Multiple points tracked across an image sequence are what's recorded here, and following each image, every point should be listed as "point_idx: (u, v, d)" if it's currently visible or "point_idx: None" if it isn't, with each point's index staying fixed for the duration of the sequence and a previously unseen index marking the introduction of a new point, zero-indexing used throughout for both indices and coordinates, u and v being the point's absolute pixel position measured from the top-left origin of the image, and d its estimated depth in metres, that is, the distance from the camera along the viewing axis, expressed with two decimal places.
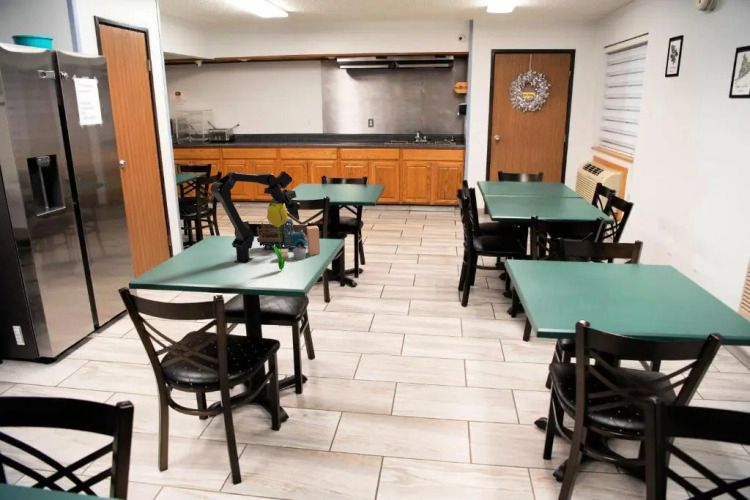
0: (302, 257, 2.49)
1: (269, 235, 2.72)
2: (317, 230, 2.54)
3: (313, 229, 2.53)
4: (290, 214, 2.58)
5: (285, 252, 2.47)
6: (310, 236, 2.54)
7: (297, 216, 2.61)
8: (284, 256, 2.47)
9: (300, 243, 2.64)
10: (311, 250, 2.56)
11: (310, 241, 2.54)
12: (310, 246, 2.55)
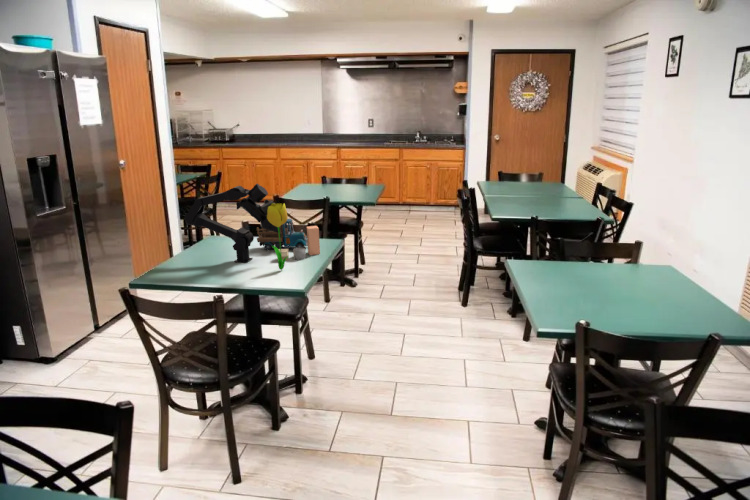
0: (302, 257, 2.49)
1: (269, 235, 2.72)
2: (317, 230, 2.54)
3: (313, 229, 2.53)
4: None
5: (285, 252, 2.47)
6: (310, 236, 2.54)
7: (275, 229, 2.43)
8: (284, 256, 2.47)
9: (300, 243, 2.64)
10: (311, 250, 2.56)
11: (310, 241, 2.54)
12: (310, 246, 2.55)
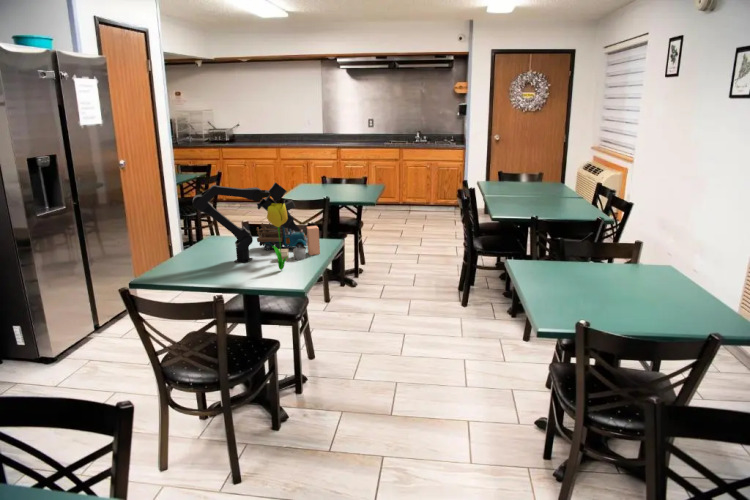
0: (302, 257, 2.49)
1: (269, 235, 2.72)
2: (317, 230, 2.54)
3: (313, 229, 2.53)
4: None
5: (285, 252, 2.47)
6: (310, 236, 2.54)
7: (295, 228, 2.47)
8: (284, 256, 2.47)
9: (300, 243, 2.64)
10: (311, 250, 2.56)
11: (310, 241, 2.54)
12: (310, 246, 2.55)
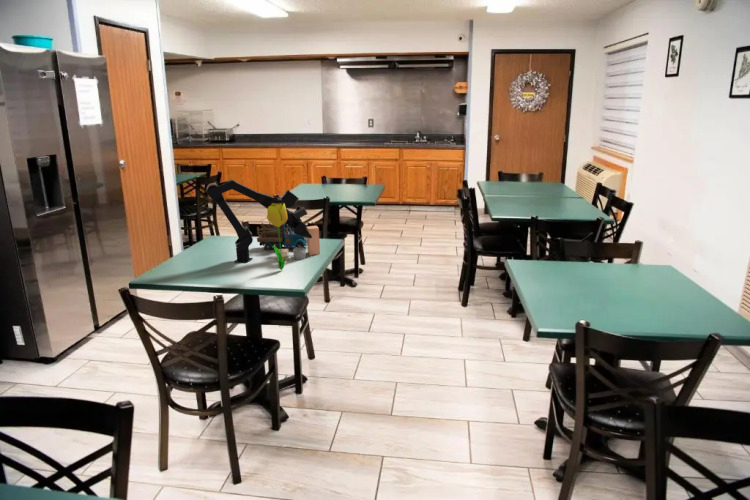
0: (302, 257, 2.49)
1: (269, 235, 2.72)
2: (317, 230, 2.54)
3: (313, 229, 2.53)
4: (298, 234, 2.48)
5: (285, 252, 2.47)
6: None
7: (307, 235, 2.50)
8: (284, 256, 2.47)
9: (300, 243, 2.64)
10: (311, 250, 2.56)
11: (310, 241, 2.54)
12: (310, 246, 2.55)
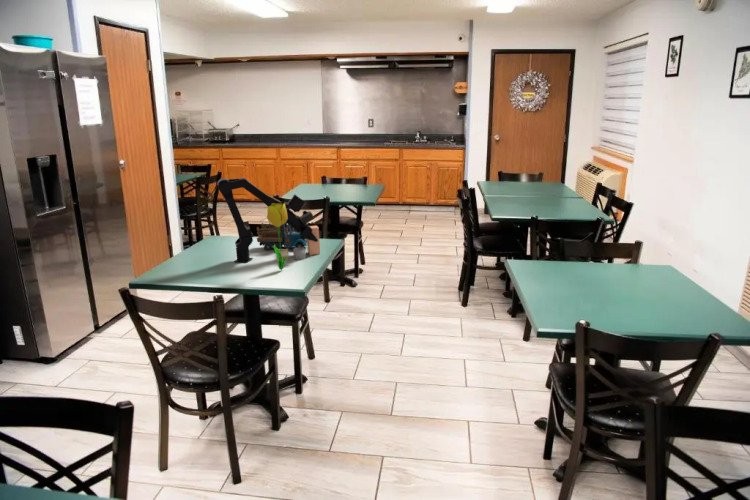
0: (302, 257, 2.49)
1: (269, 235, 2.72)
2: (317, 230, 2.54)
3: (313, 229, 2.53)
4: None
5: (285, 252, 2.47)
6: None
7: (313, 238, 2.53)
8: (284, 256, 2.47)
9: (300, 243, 2.64)
10: (311, 250, 2.56)
11: (310, 241, 2.54)
12: (310, 246, 2.55)
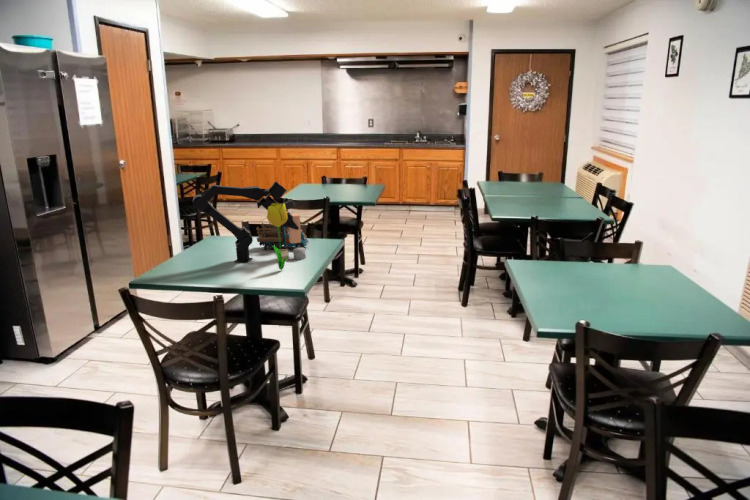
0: (302, 257, 2.49)
1: (269, 235, 2.73)
2: (298, 218, 2.50)
3: (294, 217, 2.49)
4: None
5: (285, 252, 2.47)
6: None
7: (294, 226, 2.49)
8: (284, 256, 2.47)
9: (299, 243, 2.64)
10: (292, 238, 2.51)
11: (291, 229, 2.50)
12: (291, 234, 2.50)
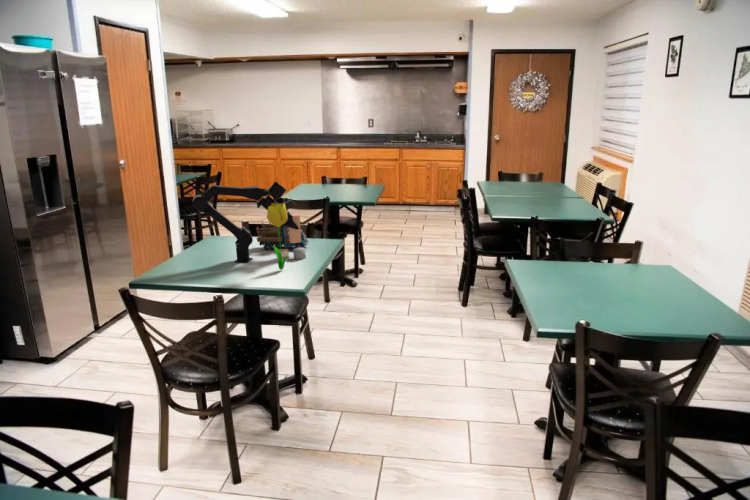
0: (302, 257, 2.49)
1: (269, 235, 2.73)
2: (298, 217, 2.50)
3: (294, 216, 2.49)
4: None
5: (285, 252, 2.47)
6: None
7: (294, 226, 2.49)
8: (284, 256, 2.47)
9: (299, 243, 2.64)
10: (292, 238, 2.51)
11: (291, 229, 2.50)
12: (291, 234, 2.50)
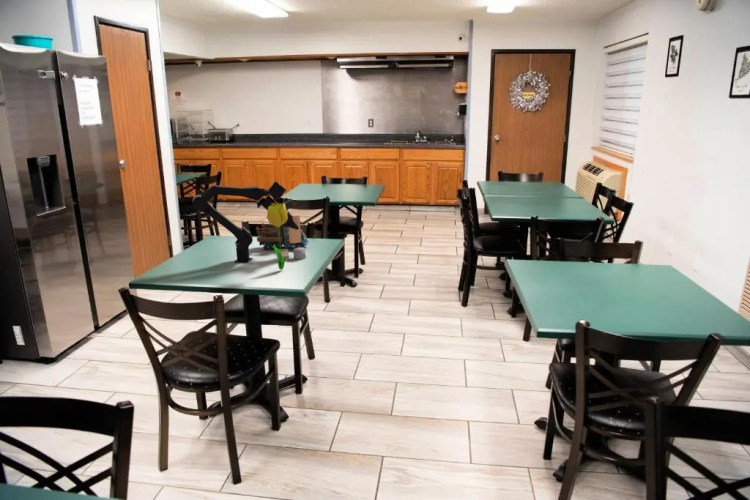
0: (302, 257, 2.49)
1: (269, 235, 2.73)
2: (298, 217, 2.50)
3: (294, 216, 2.49)
4: None
5: (285, 252, 2.47)
6: None
7: (294, 226, 2.49)
8: (284, 256, 2.47)
9: (299, 243, 2.64)
10: (292, 238, 2.51)
11: (291, 229, 2.50)
12: (291, 234, 2.50)
